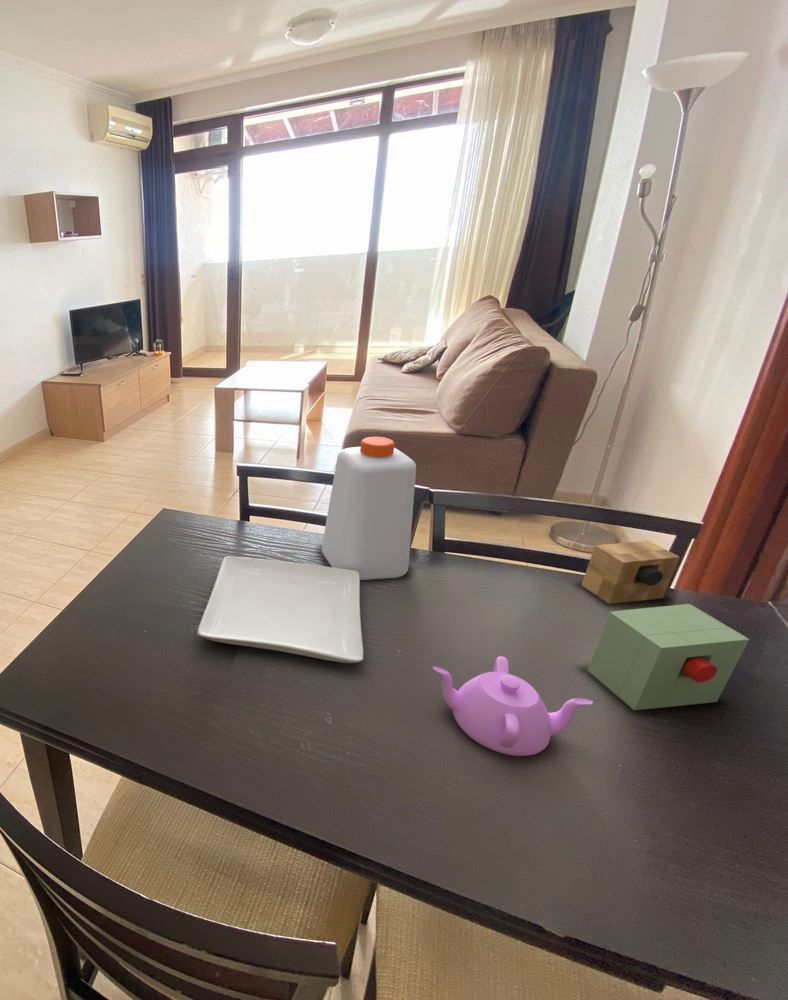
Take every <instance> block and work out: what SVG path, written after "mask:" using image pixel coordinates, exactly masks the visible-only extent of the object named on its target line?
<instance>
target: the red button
mask: <svg viewBox="0 0 788 1000" xmlns="http://www.w3.org/2000/svg"><path fill="white" fill-rule="evenodd" d="M683 673H684V674H686V675H687V676H689V677H690V678H691V679H693V680H694V681H696V682H700V683H701V682H706V681H708V680H710V679H711V678H713V677H714V676H715V675H716V673H717V668H716V667H715V666H714V665H712V664H711V663H709V662H708V661H706V660H705V659H703V658H694V659H692V660H690V661H688V662H687V663H686V664H685V665H684V667H683Z"/></svg>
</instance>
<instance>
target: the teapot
mask: <svg viewBox="0 0 788 1000" xmlns="http://www.w3.org/2000/svg"><path fill="white" fill-rule="evenodd" d="M509 666H510V665H509V660H508V658H507V657H505V656H498V657H497V658H496V659H495V661H494V666H493V671H488V672H485V673H481V674H479V675H477V676H475V677H473V678H471V679H469V680H468V681H466V682H465V683H464V684H463V685H462V686H461V687H460V688H459V689H458V690H457V689H456V688H454V687H453V677H452V675H451V673H450V672H449V671H447V670H446V669H444V668H442V667H439V666H432V669H433V670H434V672H436V673H437V674H438V675H439V676H440V678H441V682H442V684H441V694H442V698H443V700H444V702H445V704H446V705H447V706H448V707H449V708H450V709H452V714H453V718H454V720H455V722H456V723H457V725H458V727H460V729H461V730H462V731H463V733H465V734H466V735H467V736H468V737H469V738H471V739H472V740H473V741H475V742H476V743H478V744H479V745H481V746H483V747H484V748H487V749H489V750H492V751H494V752H497V753H499V754H503V755H507V756H513V757H526V756H533V755H536V754H538V753H541V752H542V751H544V750H545V749H546V748H547V747H548V745H549V744H550V740H551V736H555V735H559V734H561V733H563V732H565V731H566V730H567V729H568V727H569V726H570V724H571V722H572V719H573V717H574V714H575V713H576V711H577V710H578V709H579V708H582V707H585V706H590V705H593V703H594V701H593V700H591V699H587V698H582V697H581V698H579V697H576V698H571V699H569V700H567V701H565V703H564V704H563V705H562V707H561V708H560V709H559V710H558V711H554V712H549V711H548V710H547V706H545V703H544V701H543V699H542V698H541V696H540V695H539V693H538V692H537V691H536V689H535V688H534V687H533V686H532V685H531V684H530V683H528V682H527V681H526V680H524V679H523V678H520V677H518V676H516V675H514V674H511V673H509V671H510V670H509Z"/></svg>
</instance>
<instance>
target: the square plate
mask: <svg viewBox="0 0 788 1000" xmlns="http://www.w3.org/2000/svg"><path fill="white" fill-rule="evenodd" d="M360 592H361V580H360V576H359V573H358V572H357V571H354V570H348V569H340V568H333V567H331V566H325V565H317V564H310V563H308V564H307V563H300V562H292V561H285V560H284V561H283V560H274V559H273V560H272V559H266V558H265V559H263V558H253V557H242V556H231V555H226V556H224V557H223V559H222V562H221V564H220V567H219V570H218V573H217V576H216V579H215V583H214V586H213V588H212V591H211V594H210V597H209V599H208V602H207V604H206V607H205V609H204V612H203V615H202V617H201V620H200V622H199V625H198V629H197V632H196V635H197V636H198V637H201V638H203V639H205V640H209V641H213V642H217V643H222V644H229V645H236V646H243V647H250V648H257V649H263V650H270V651H277V652H282V653H288V654H292V655H293V654H294V655H299V656H304V657H309V658H313V659H320V660H325V661H331V662H336V663H343V664H354V663H360V662H362V661H363V660H364V643H363V634H362V622H361V593H360Z"/></svg>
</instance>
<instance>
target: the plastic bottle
mask: <svg viewBox="0 0 788 1000" xmlns="http://www.w3.org/2000/svg"><path fill="white" fill-rule="evenodd" d="M395 444H396V443H395V442H394V440H393V439H391V438H388V437H384V436H367V437H365V438H363V439H362V440H361V441H360V446H353V447H347V448H343V449H341V450H340V451H339V452H338V454H337V457H336V462H335V470H334V474H333V480H332V487H331V493H330V498H329V503H328V509H327V515H326V521H325V527H324V533H323V538H322V544H321V553H322V555H323V556H324V558H325V559H326V561H327V563H328V564H329V566H330V567H333V568H340V569H348V570H354V571H357V572H358V573H359V576H360V581H370V580H371V581H372V580H385V579H396V578H400V577H403V576H405V575H406V574H407V572H408V571H409V564H410V551H411V541H412V540H411V538H412V526H413V514H414V503H415V489H416V488H415V487H416V476H417V464H416V462H415V461H414V460H413V458H411V457H410V456H408V455H406V453H404V452H402V450H401V451H400V450H399V449H398V448H396V447H395V446H396V445H395Z"/></svg>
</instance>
